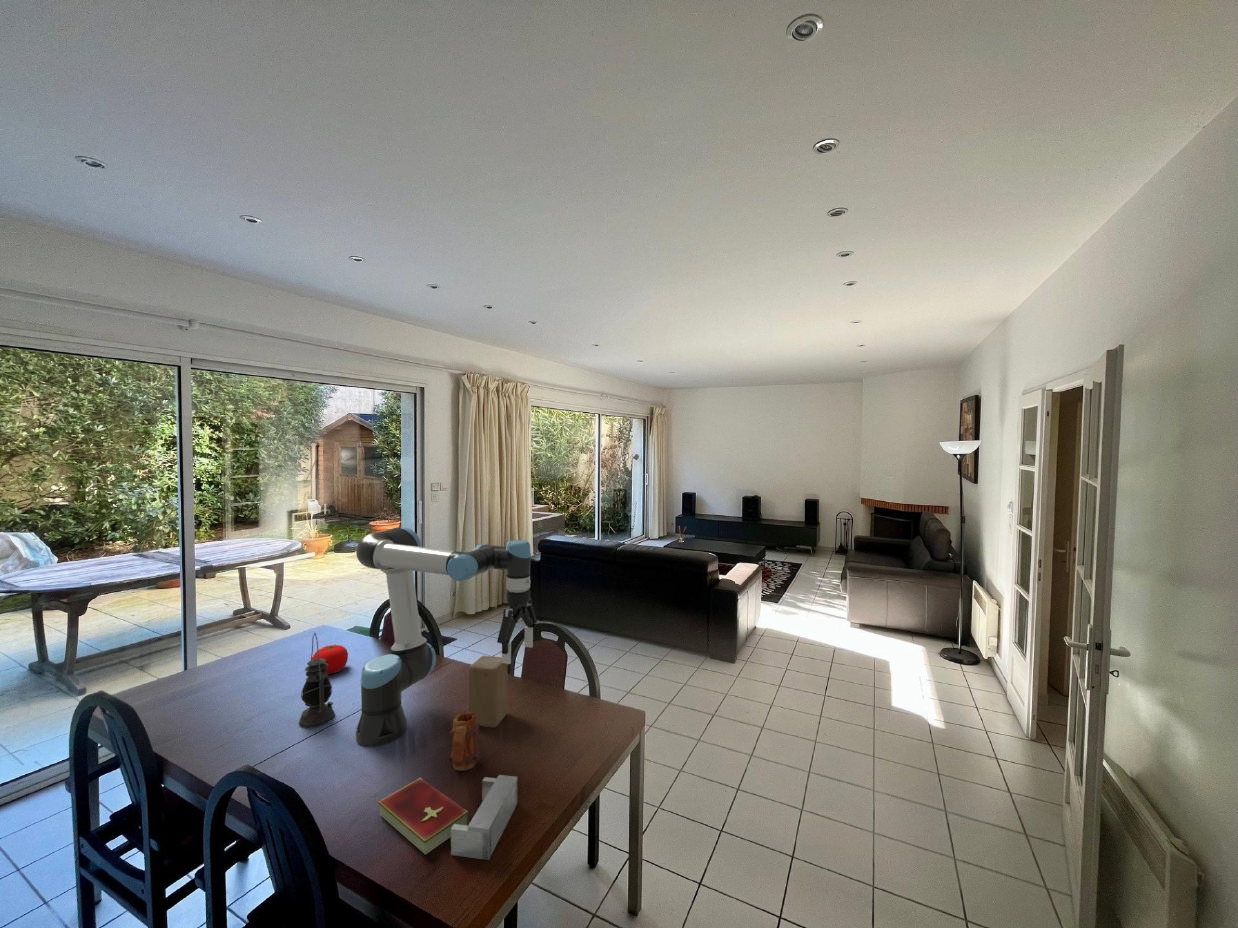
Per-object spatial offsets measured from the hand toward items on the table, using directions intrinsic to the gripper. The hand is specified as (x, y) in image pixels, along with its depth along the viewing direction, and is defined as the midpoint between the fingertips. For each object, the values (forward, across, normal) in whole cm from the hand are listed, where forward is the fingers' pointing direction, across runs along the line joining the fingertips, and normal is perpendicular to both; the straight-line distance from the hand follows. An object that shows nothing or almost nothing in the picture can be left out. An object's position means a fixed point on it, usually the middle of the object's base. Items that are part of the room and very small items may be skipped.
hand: (517, 654), depth 159 cm
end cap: (+26, -38, -13) cm, 47 cm away
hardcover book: (+27, -40, +2) cm, 49 cm away
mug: (+26, -22, +5) cm, 34 cm away
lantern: (+27, -15, +69) cm, 76 cm away
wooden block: (+26, +4, +14) cm, 30 cm away
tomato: (+27, +14, +98) cm, 102 cm away
